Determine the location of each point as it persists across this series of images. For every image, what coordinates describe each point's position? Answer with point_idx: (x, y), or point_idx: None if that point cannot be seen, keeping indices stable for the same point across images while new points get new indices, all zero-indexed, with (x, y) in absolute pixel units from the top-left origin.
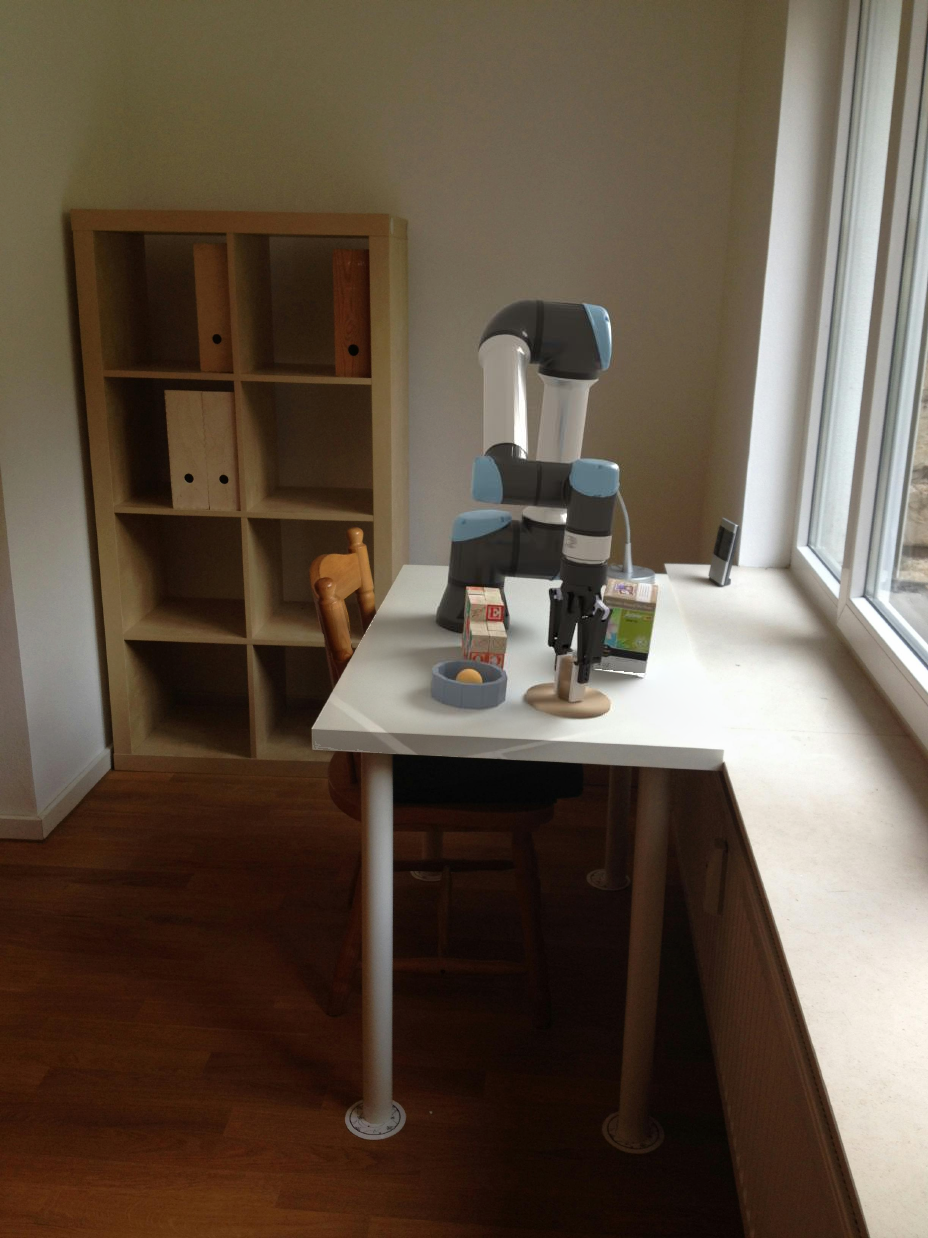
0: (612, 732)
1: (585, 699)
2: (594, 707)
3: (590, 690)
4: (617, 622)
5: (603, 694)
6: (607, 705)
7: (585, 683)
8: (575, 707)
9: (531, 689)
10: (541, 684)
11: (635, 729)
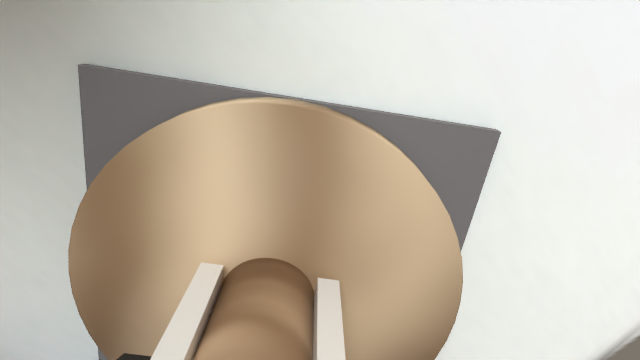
0: (537, 305)
1: (326, 252)
2: (415, 289)
3: (248, 135)
4: None
5: (330, 121)
6: (439, 223)
7: (343, 348)
8: (364, 348)
9: (118, 354)
10: (77, 282)
11: (593, 214)
